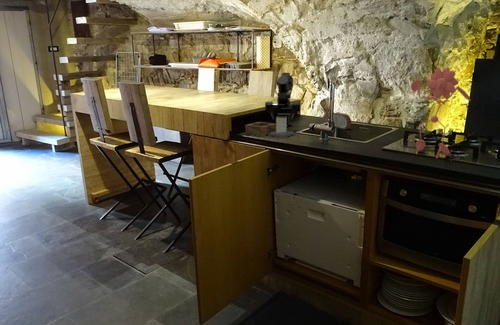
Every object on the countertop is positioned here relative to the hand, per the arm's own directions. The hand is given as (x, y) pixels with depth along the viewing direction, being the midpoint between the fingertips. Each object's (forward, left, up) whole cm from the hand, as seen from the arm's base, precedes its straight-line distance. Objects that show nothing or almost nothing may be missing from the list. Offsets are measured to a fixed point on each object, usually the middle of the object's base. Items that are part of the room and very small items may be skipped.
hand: (282, 119), depth 216 cm
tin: (-30, +18, -8) cm, 36 cm away
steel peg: (+5, +3, -6) cm, 9 cm away
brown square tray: (+7, -9, -7) cm, 13 cm away
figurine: (-1, +78, -8) cm, 79 cm away
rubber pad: (+5, +3, -7) cm, 10 cm away
